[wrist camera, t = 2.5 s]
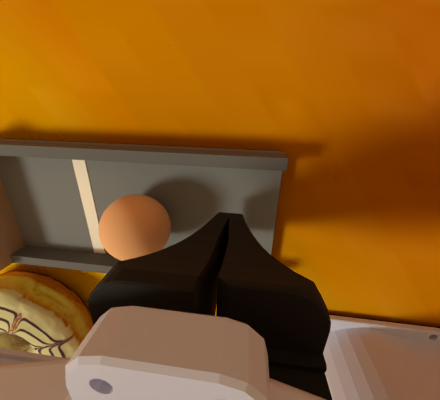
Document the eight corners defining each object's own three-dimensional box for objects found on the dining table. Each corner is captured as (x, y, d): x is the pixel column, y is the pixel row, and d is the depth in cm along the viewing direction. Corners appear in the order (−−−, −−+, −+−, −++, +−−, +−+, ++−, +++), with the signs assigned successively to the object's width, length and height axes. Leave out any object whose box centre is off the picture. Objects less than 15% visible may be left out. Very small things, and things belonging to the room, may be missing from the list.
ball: (177, 187, 13) (151, 215, 9) (180, 240, 14) (158, 281, 11) (118, 183, 13) (73, 209, 10) (126, 235, 14) (90, 273, 11)
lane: (283, 151, 12) (291, 162, 9) (267, 271, 15) (270, 302, 13) (-15, 137, 14) (-71, 144, 11) (26, 246, 17) (-11, 269, 14)
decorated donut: (-14, 316, 22) (-65, 356, 18) (-3, 238, 17) (-66, 272, 14) (84, 363, 22) (54, 410, 19) (118, 301, 18) (86, 347, 15)
